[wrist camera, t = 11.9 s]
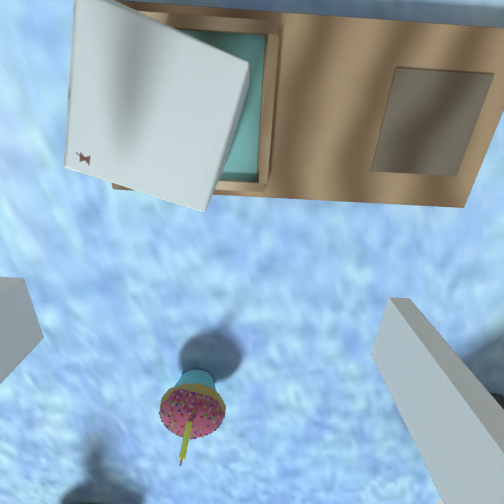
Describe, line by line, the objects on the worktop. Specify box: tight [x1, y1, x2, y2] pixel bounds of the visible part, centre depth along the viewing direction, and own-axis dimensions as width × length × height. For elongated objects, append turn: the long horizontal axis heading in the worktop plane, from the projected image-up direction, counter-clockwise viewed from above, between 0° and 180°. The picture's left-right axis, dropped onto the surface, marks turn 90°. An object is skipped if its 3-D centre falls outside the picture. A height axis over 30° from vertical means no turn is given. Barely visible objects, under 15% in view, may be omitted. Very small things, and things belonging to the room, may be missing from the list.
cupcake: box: [159, 369, 226, 466], centre depth 36 cm, size 9×8×12 cm
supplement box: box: [64, 0, 249, 212], centre depth 18 cm, size 7×7×13 cm
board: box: [112, 0, 504, 208], centre depth 25 cm, size 34×14×2 cm, turn 87°
